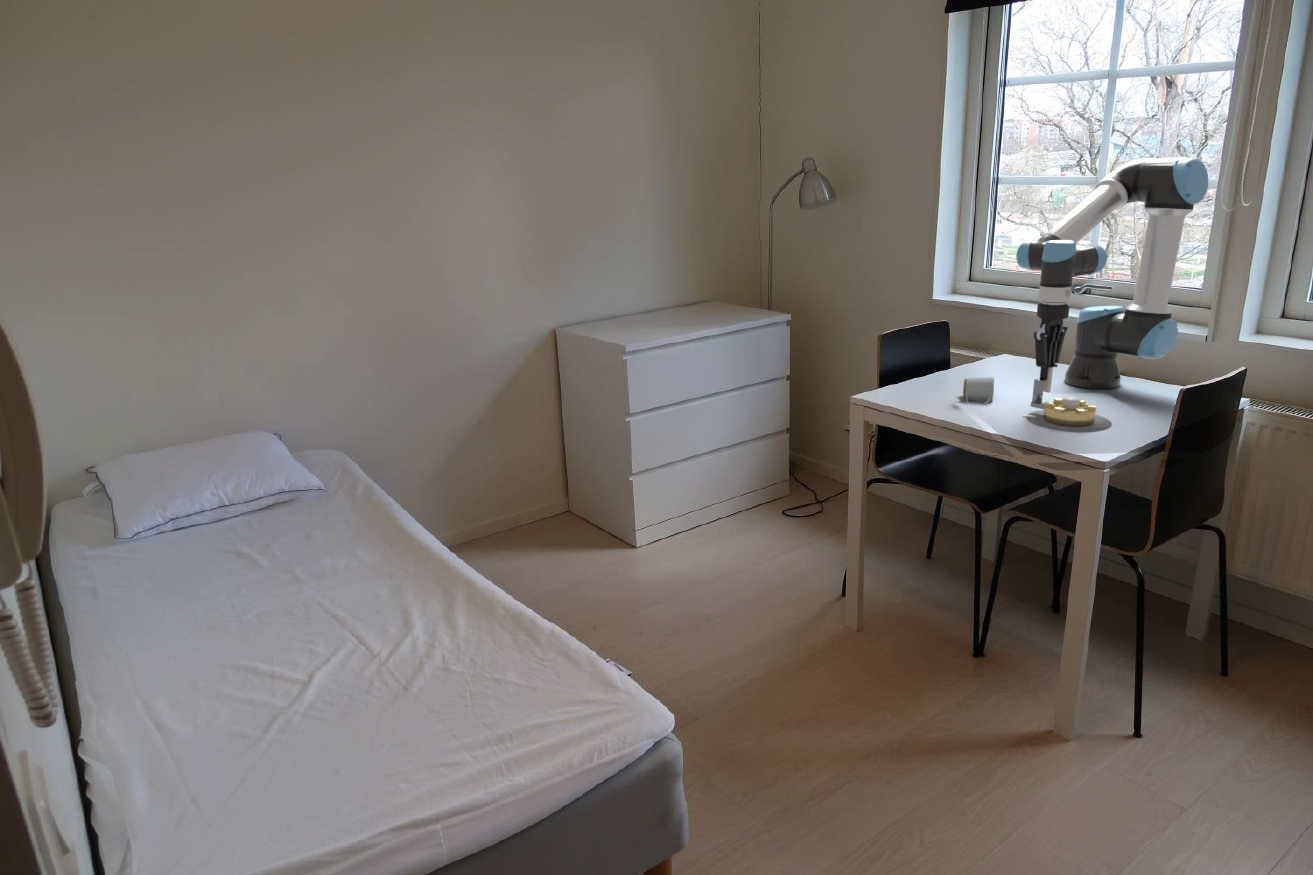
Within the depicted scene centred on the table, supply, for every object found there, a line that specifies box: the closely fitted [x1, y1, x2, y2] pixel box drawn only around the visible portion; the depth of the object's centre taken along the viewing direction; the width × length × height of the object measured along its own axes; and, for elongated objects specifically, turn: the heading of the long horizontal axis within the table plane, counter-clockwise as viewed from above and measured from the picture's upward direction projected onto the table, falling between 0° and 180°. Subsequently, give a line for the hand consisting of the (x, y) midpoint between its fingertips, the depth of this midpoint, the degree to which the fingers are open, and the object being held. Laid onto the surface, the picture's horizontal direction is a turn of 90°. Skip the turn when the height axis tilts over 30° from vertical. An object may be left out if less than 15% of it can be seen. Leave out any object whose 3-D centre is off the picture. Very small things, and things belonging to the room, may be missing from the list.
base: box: [1022, 396, 1113, 433], centre depth 224 cm, size 20×20×7 cm
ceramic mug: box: [962, 376, 995, 405], centre depth 245 cm, size 11×8×8 cm
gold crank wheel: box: [1029, 378, 1097, 426], centre depth 225 cm, size 16×12×9 cm
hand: (1044, 391), depth 232 cm, fingers closed
